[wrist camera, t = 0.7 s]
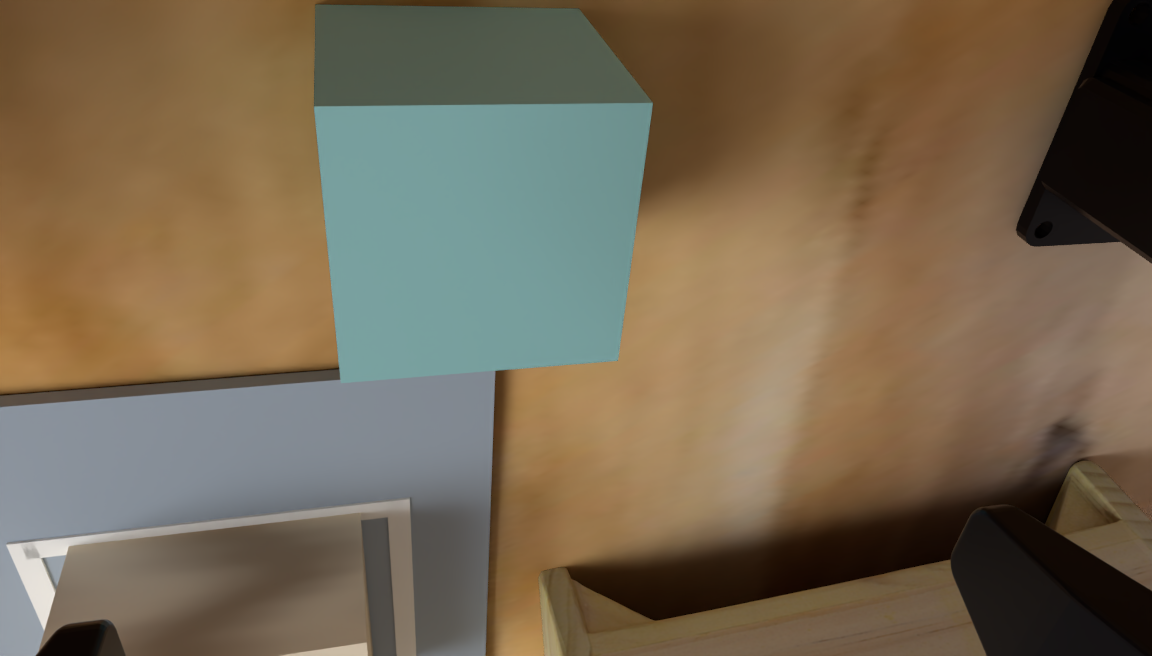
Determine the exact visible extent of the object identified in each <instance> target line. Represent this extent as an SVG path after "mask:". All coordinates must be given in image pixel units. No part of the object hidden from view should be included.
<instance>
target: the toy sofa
mask: <svg viewBox="0 0 1152 656" xmlns="http://www.w3.org/2000/svg"><path fill="white" fill-rule="evenodd" d="M1045 525H1046V526H1048V527H1050V528H1051V529H1053V530H1054V531H1056V532H1058V533H1059V534H1061V535H1063V536H1064V537H1066V538H1067V539H1069V540H1071V541H1072V542H1074V543H1075V544H1077V545H1079V546H1080V547H1082V548H1084V549H1085V550H1087V551H1088V552H1090V553H1092V554H1093V555H1095V556H1096V557H1098V558H1100V559H1101V560H1103V561H1105V562H1106V563H1108V564H1109V565H1111V566H1113V567H1114V568H1116V569H1117V570H1119V571H1121V572H1122V573H1124V574H1126V575H1127V576H1129V577H1130V578H1132V579H1134V580H1135V581H1137V582H1138V583H1140V584H1142V585H1143V586H1145V587H1147V588H1148V589H1150V590H1151V591H1152V521H1151V520H1150V519H1149V518H1148V517H1147V516H1146V515H1145V514H1144V512H1143V511H1142V510H1141V509H1140V508H1139V507H1138V506H1137V505H1136V504H1135V503H1134V502H1133V501H1132V500H1131V499H1130V498H1129V497H1128V496H1127V495H1126V494H1125V493H1124V492H1123V490H1122V489H1121V488H1120V487H1119V486H1118V485H1117V484H1116V483H1115V482H1114V481H1113V480H1112V479H1111V478H1110V476H1109V475H1108V474H1107V473H1106V472H1105V471H1104V470H1103V469H1102V468H1101V467H1100V466H1098V465H1097V464H1095V463H1094V462H1092V461H1080V462H1077V463H1075V464H1074V465H1073V466H1072V467H1071V468H1070V470H1069V472H1068V474H1067V476H1066V478H1065V480H1064V483H1063V485H1062V487H1061V489H1060V492H1059V494H1058V496H1057V498H1056V501H1055V503H1054V505H1053V507H1052V509H1051V512H1050V514H1049V516H1048V518H1047V521H1046V523H1045ZM538 579H539V592H540V604H541V617H542V631H543V644H544V656H986V653H985V651H984V649H983V646H982V644H981V641H980V639H979V637H978V634H977V632H976V630H975V627H974V625H973V622H972V620H971V618H970V615H969V613H968V611H967V608H966V606H965V603H964V601H963V599H962V596H961V594H960V592H959V589H958V587H957V584H956V582H955V580H954V577H953V574H952V570H951V562H950V560H946V561H941V562H936V563H931V564H926V565H922V566H917V567H912V568H907V569H902V570H898V571H894V572H890V573H886V574H881V575H876V576H872V577H867V578H862V579H858V580H853V581H848V582H843V583H839V584H834V585H829V586H824V587H820V588H815V589H810V590H805V591H801V592H796V593H791V594H786V595H781V596H777V597H772V598H767V599H762V600H757V601H753V602H748V603H743V604H738V605H733V606H728V607H724V608H719V609H714V610H709V611H704V612H699V613H694V614H689V615H684V616H679V617H674V618H669V619H664V620H658V621H654V620H651V619H649V618H647V617H645V616H643V615H641V614H639V613H637V612H634V611H632V610H630V609H628V608H626V607H624V606H623V605H621V604H619V603H617V602H615V601H613V600H611V599H609V598H607V597H605V596H602V595H600V594H598V593H596V592H594V591H592V590H590V589H588V588H586V587H584V586H583V585H581V584H580V583H578V582H577V581H575V580H572V579H571V577H570V575H569V572H568V570H567V569H566V568H565V567H559V568H554V569H549V570H545V571H542V572H541V573H540V575H539V578H538Z"/></svg>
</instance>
